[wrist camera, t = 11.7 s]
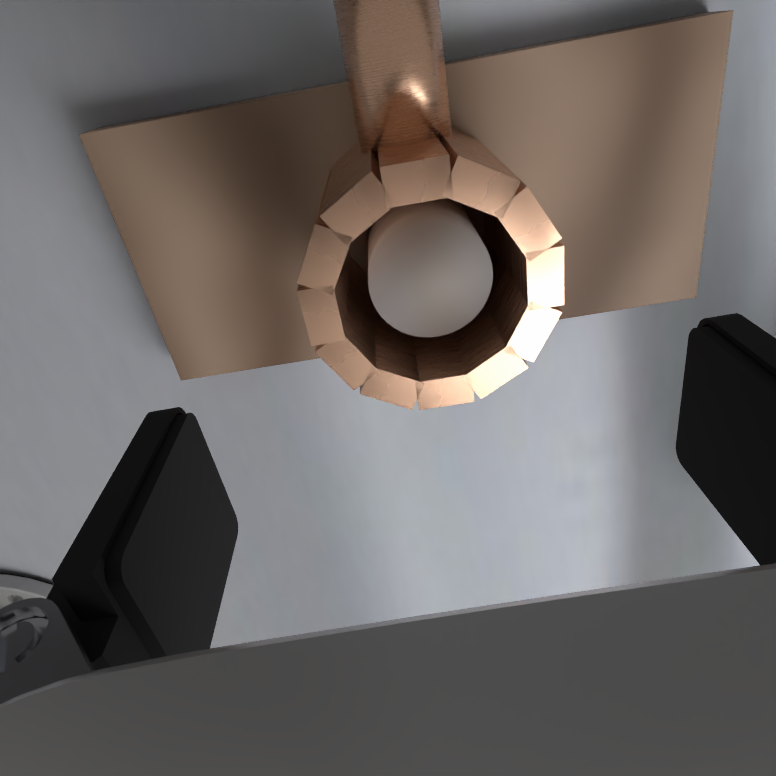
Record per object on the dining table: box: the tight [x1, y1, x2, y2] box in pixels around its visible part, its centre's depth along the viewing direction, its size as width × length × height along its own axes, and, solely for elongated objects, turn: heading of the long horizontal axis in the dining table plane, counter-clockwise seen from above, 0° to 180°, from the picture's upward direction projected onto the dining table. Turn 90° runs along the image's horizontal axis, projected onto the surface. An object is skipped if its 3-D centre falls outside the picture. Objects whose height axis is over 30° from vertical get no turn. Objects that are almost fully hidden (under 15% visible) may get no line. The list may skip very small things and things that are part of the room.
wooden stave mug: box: [297, 0, 564, 410], centre depth 18 cm, size 7×11×7 cm, turn 9°
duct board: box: [79, 10, 733, 380], centre depth 20 cm, size 22×10×8 cm, turn 99°
